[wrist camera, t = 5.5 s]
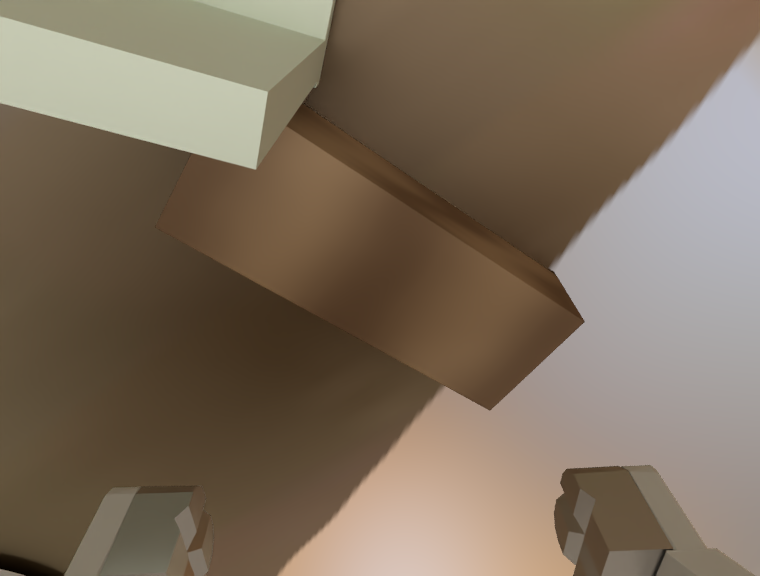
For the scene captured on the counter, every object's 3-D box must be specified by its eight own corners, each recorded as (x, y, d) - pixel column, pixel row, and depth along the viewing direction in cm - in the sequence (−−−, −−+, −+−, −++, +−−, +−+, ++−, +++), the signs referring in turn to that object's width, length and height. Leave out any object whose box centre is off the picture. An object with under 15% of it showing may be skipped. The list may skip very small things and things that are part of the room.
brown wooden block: (554, 271, 21) (584, 321, 18) (475, 353, 23) (490, 410, 20) (253, 67, 17) (224, 85, 14) (191, 188, 19) (154, 227, 16)
